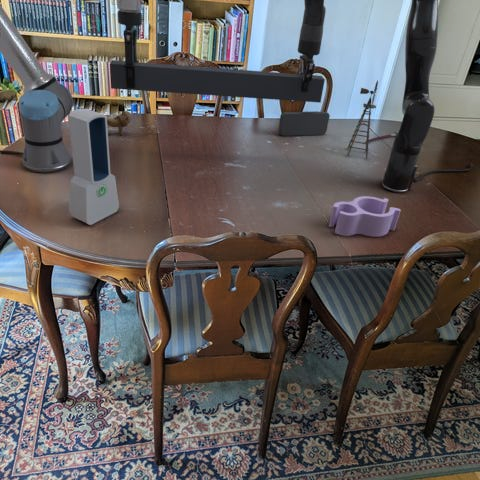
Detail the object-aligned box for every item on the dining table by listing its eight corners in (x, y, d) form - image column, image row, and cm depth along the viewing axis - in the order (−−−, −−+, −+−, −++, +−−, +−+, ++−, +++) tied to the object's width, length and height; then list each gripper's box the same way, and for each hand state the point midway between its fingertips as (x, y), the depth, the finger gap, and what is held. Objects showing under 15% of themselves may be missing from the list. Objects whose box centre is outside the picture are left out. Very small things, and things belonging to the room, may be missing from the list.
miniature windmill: (367, 159, 190) (386, 84, 173) (346, 156, 191) (363, 81, 174) (366, 151, 197) (385, 79, 181) (346, 148, 198) (363, 76, 182)
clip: (342, 240, 135) (347, 220, 131) (322, 219, 145) (326, 199, 141) (399, 234, 141) (406, 214, 137) (377, 213, 151) (382, 194, 147)
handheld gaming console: (323, 132, 212) (327, 111, 207) (326, 134, 210) (330, 113, 205) (277, 134, 205) (280, 111, 200) (279, 136, 203) (282, 113, 198)
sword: (403, 131, 224) (404, 129, 223) (408, 133, 222) (409, 131, 221) (360, 143, 208) (360, 140, 207) (365, 145, 206) (366, 142, 205)
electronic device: (87, 227, 129) (77, 121, 112) (68, 218, 132) (56, 113, 115) (120, 210, 138) (114, 110, 122) (101, 202, 141) (94, 103, 125)
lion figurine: (130, 130, 193) (129, 109, 188) (132, 135, 188) (131, 113, 184) (93, 131, 188) (91, 109, 183) (94, 136, 184) (93, 114, 179)
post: (111, 88, 158) (109, 63, 153) (113, 84, 162) (111, 60, 157) (320, 102, 166) (324, 79, 162) (317, 98, 170) (321, 75, 166)
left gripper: (139, 16, 140) (140, 93, 153) (144, 8, 155) (145, 79, 168) (113, 13, 140) (117, 91, 152) (121, 5, 155) (123, 77, 167)
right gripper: (326, 43, 151) (317, 96, 160) (316, 35, 163) (308, 84, 172) (303, 41, 150) (295, 94, 159) (295, 33, 162) (288, 83, 171)
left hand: (131, 85), depth 160 cm, fingers closed on post, 5 cm apart
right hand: (302, 89), depth 166 cm, fingers closed on post, 5 cm apart
